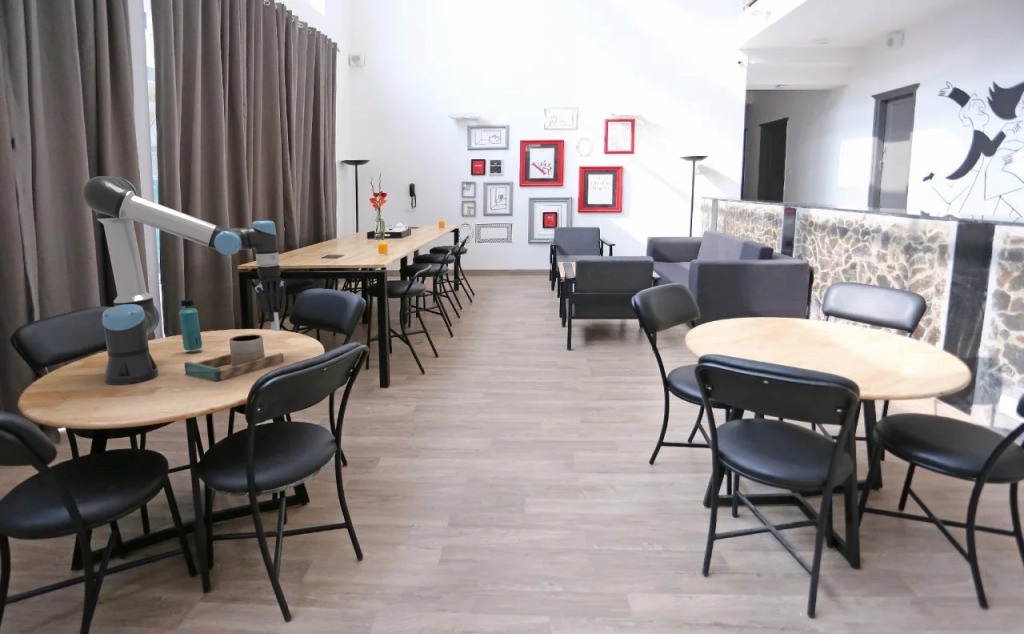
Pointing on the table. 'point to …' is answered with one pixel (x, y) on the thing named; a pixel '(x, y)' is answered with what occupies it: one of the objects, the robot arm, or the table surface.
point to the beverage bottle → (190, 326)
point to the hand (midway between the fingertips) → (275, 329)
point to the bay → (210, 371)
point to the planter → (246, 348)
